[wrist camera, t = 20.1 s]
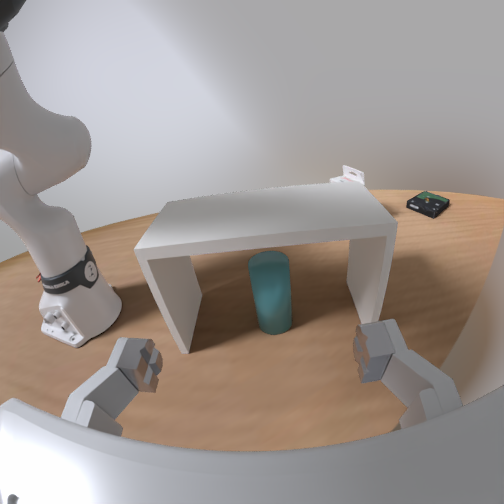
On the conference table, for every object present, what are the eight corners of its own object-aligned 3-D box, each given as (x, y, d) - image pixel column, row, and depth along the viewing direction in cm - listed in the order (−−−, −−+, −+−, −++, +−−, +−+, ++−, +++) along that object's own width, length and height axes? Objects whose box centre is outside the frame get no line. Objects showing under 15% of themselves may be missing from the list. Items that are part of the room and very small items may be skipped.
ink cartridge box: (329, 219, 71) (328, 166, 63) (343, 215, 72) (343, 164, 64) (349, 232, 64) (350, 175, 56) (363, 227, 65) (366, 172, 57)
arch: (181, 353, 40) (133, 249, 29) (196, 295, 52) (167, 202, 41) (373, 337, 37) (397, 222, 27) (352, 281, 49) (358, 181, 38)
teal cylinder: (258, 336, 41) (247, 276, 35) (258, 311, 46) (248, 253, 40) (293, 332, 41) (290, 272, 35) (291, 308, 46) (287, 249, 39)
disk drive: (434, 221, 64) (448, 206, 70) (435, 212, 63) (450, 199, 69) (405, 209, 72) (423, 197, 78) (406, 200, 71) (424, 189, 76)
